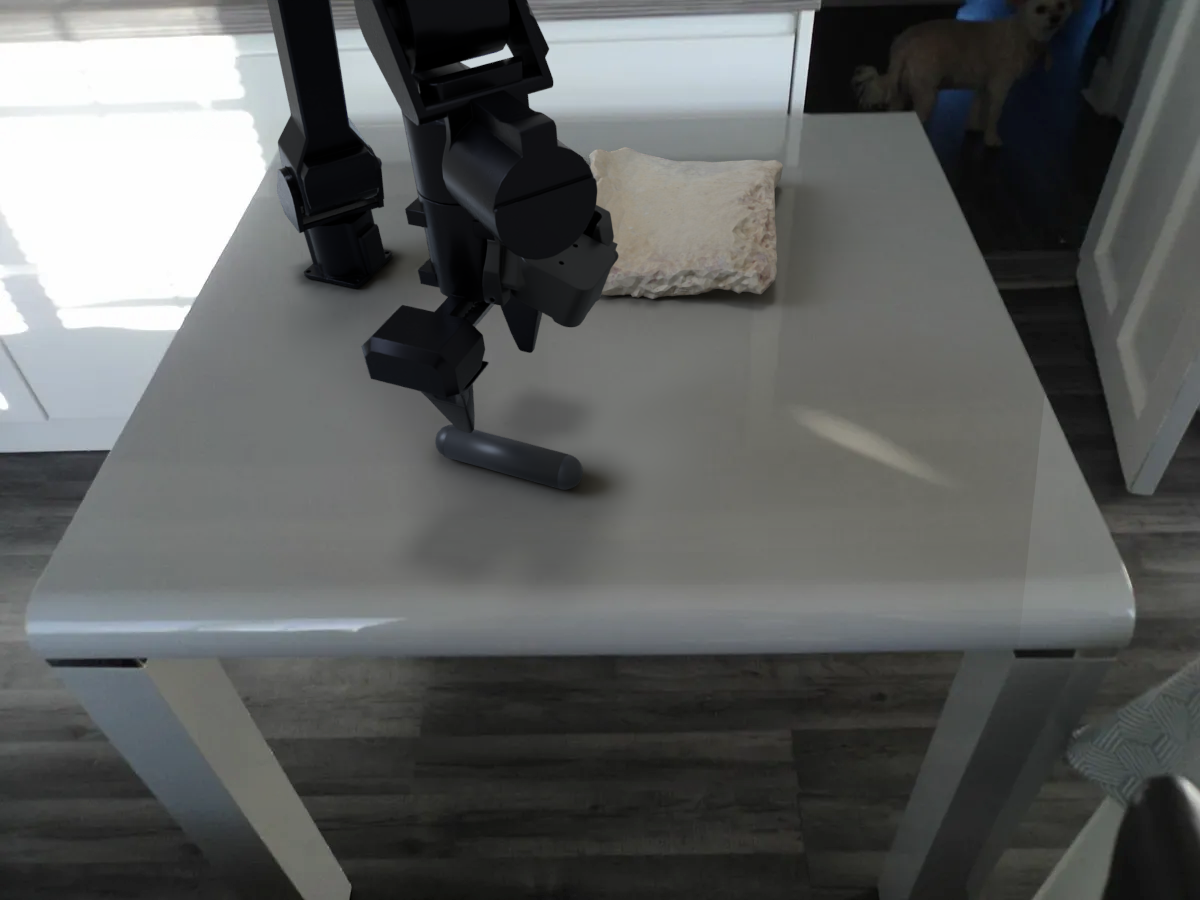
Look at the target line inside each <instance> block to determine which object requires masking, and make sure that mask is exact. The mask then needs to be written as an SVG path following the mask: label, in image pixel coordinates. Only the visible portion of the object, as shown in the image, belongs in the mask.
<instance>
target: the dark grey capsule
mask: <svg viewBox="0 0 1200 900" xmlns="http://www.w3.org/2000/svg"><path fill="white" fill-rule="evenodd" d="M434 441H435V443H434V444H435V447H436V449H437V452H438V453H439V454H440V455H441V456H443V457H444V458H447V459H451V460H454V461H458V462H462V463H465V464H468V465H472V466H476V467H480V468H484V469H487V470H490V471H494V472H498V473H502V474H504V475H507V476H513V477H516V478H520V479H523V480H526V481H531V482H533V483H537V484H540V485H544V486H549V487H552V488H556V489H558V490H571V489H573V488H575V487H577V486H578V485H579V483H580V482H581V480H582V478H583V473H584V469H583V465H582V463H581V461H580V460H579V459H578V458H577V457H576V456H574V455H572V454H569V453H565V452H561V451H558V450H555V449H550V448H546V447H542V446H539V445H535V444H531V443H528V442H523V441H520V440H516V439H512V438H508V437H505V436H500V435H497V434H493V433H490V432H486V431H482V430H478V429H474V430H473V431H472V433H467V432H463V431H460V430H458V429H457V428H456V427H455V426H454V425H453V424H446V425H445V426H443V427H441V428H440V429H439V430H438V432H437V433H436V436H435V440H434Z"/></svg>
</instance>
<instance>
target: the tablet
mask: <svg viewBox="0 0 1200 900" xmlns="http://www.w3.org/2000/svg"><path fill="white" fill-rule="evenodd" d="M588 157H589V160H590V165H589V166H590V169H591V171H592V174H593V176H594V178H595V179H596V182H597V202H596V205H598V206H600V207H601V208H603V209H605V210H607V211H609V212H610V214H611V221H612V227H613V233H614V239H613V242H615V243H617V244H618V245H617V248H616V251H617V252H618V255H619V256H618V259H617V261H616V262H615V263H614V265H613V266H612V268H611V269H610V272H609V275H608V277H607V280H606V283H605V285H604V288H603V290H602V293H601V296H625V295H631V298H640V297H645V298H648V299H651V300H655V299H657V298H661V297H662V298H663V297H667V296H669V297H674V296H675V297H676V296H690V295H691V296H693V295H695V296H696V295H697V296H698V295H699V294H703V293H704V294H705V293H709V292H711V291H713V290H723V291H733V292H734V293H737V294H741V293H742V292H745V293H747V292H748V293H753V294H756V295H762V294H763V293H765V291H766V290H767V289H768V288H769V287H770V286H771V285H772V284H773V283H774V282H775V281H776V277H777V275H778V274H777V273H778V270H777V264H778V255H777V254H778V251H777V243H778V242H777V228H776V199H775V198H776V197H775V196H776V195H775V194H776V193H775V189H776V188H777V186H778V184H779V183H780V181H781V180H782V173H783V170H784V169H783V168H784V166H783V164H782V163H781V162H780V161H779V160H777V159H772V160H770V159H769V160H760V159H745V160H729V161H725V160H724V161H723V160H722V161H703V160H685V161H684V160H683V161H679V160H672V159H667V158H663V157H659V156H654V155H650V154H646V153H642V152H639V151H637V150H635V149H633V148H630V147H621V148H619V149H616V150H610V151H607V150H604V149H601V148H598V149H594V150H593V151H592V152H591V153H590V154H588Z"/></svg>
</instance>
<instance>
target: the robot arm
mask: <svg viewBox="0 0 1200 900" xmlns="http://www.w3.org/2000/svg"><path fill="white" fill-rule="evenodd" d="M266 2H267V8H268V12H269V17H270V23H271V27H272V32H273V36H274V41H275V46H276V50H277V55H278V59H279V64H280V68H281V74H282V78H283V84H284V88H285V92H286V98H287V102H288V107H289V112H290V116H289V118H288V119H287V122H286V124H285V125H284V128H283V130H282V132H281V133H280V136H279V138H278V141H277V148H278V152H279V159H280V163H281V168H278V169H277V171H276V173H277V175H276V177H277V178H276V194H277V197H278V200H279V202H280V206H281V208H282V210H283V213H284V215H285V217H286V218H287V219H288V220H289V222H290V223H291V224H292V225H293V227H294V228H295V230H296V231H297V232H298V233H299V234H302V233H303V235H304V239H305V242H306V245H307V248H308V251H309V254H310V259H311V262H312V264H310V265H309V266H308V267H307V268H306V269H305V270H304V271H303V276H304V277H305V278H307V279H311V280H316V281H320V282H324V283H330V284H335V285H338V286H343V287H346V288H347V287H348V288H353V289H359V288H360V287H361V288H362V287H363V285H364V284H365V283H366V282H367V281H369V279H371V278H372V277H373V276H374V275H375V274H376V273H377V272H378V271H379V270H380V269H382V268H383V266H384V265H386V263H388V261H390V260H391V259H392V258H393V255H394V254H393V251H392V250H389V249H385V248H384V245H383V244H384V243H383V241H382V236H381V233H380V232H381V231H380V228H379V225H378V224H377V223H375V218H374V215H373V210H375V209H381V208H384V207H385V190H384V181H383V179H384V178H383V170H382V167H383V162H382V159H381V157H379V156H377V155H376V153H375V151H374V150H373V147H371V145H370V144H369V143H367V141H366V140H365V138H364V136H363V135H362V133H361V132H360V131H359V129H358V128H357V127H356V125H355V124H354V122H353V121H352V119H351V118H350V117H349V114H348V113H349V112H348V108H347V101H346V93H345V89H344V81H343V74H342V68H341V61H340V54H339V46H338V42H337V41H338V40H337V34H336V27H335V22H334V13H333V7H332V0H266ZM353 4H354V10H355V15H356V18H357V23H358V26H359V28H360V31H361V34H362V37H363V38H364V41H365V43H366V46H367V47H368V50H369V51H370V53H371V55H372V57H373V60H374V61H375V62H376V64H377V66H378V68H379V71H380V72H381V75H382V76H383V78H384V80H385V82H386V84H387V85H388V86H387V87H389V89H390V92H391V93H392V95H393V97H394V99H395V101H396V103H397V105H398V107H399V108H400V111H401V116H402V121H403V126H404V132H405V137H406V141H407V146H408V151H409V156H410V160H411V167H412V172H413V177H414V182H415V187H416V194H417V197H416V198H415V199H414V200H413V201H412V202H411V203H410V204H409V205H407V206H406V207H405V209H404V212H405V215H406V220H407V225H410V226H415V227H421V228H423V229H424V234H425V239H426V244H427V250H428V254H429V258H428V259H427V260H426V261H425V262H424V263H422V265H421V266H420V267H419V268H418V269H417V272H418V277H419V278H418V279H419V282H420V283H419V284H421V285H424V286H429V287H434V288H439V292H440V294H442V295H443V296H445V297H447V298H445V300H444V301H442V303H441V304H440V305H439V307H437V309H436V310H434V311H432V310H428V309H423V308H418V307H415V306H410V305H405V304H402V305H400V306H399V307H398V308H397V309H396V310H395V311H394V312H393V313H392V314H391V315H390V316H389V317H388V318H387V319H386V320H385V322H383V323H382V324H381V326H379V328H377V329H376V330H375V332H374V333H372V335H371V336H369V337H368V338H367V340H366V341H365V342H364V343H363V344H361V346H360V347H361V350H362V354H363V357H364V361H365V365H366V369H367V372H368V374H369V377H370V380H374V381H379V382H382V383H386V384H389V385H394V386H397V387H401V388H405V389H409V390H410V389H411V390H413V391H417V392H421V393H422V394H423V396H424V397H425V398H426V399H427V400H428V401H429V402H430V403H431V404H432V405H433V406H434V407H435V408H436V409H437V410H438V411H439V412H440V413H441V414H442V415H443V416H444V417H445V418H446V419H447V420H448V421H449V422H450V424H451V425H454V426H455V427H456V428H457V429H458V430H460V431H463V432H467V433H472V431H473V430H475V419H476V418H475V417H476V416H475V415H476V413H475V399H474V383H475V382H476V381H477V379H478V378H479V377H480V376H481V374H482V373H483V372H484V371H485V369H486V368H487V367H488V366H489V364H490V363H489V361H486V360H484V357H485V352H486V345H485V340H484V334H483V333H482V332H481V331H480V330H479V329H477V328H476V327H477V326H478V324H480V323H481V321H482V320H483V319H484V317H486V315H487V314H488V313H489V312H490V310H491V309H492V308H493V307H494V306H500V309H501V312H502V314H503V317H504V319H505V323H506V324H507V327H508V329H509V333H510V335H511V336H512V339H513V340H514V343H515V344H516V346H517V349H518V350H519V351H520V352H524V353H527V354H531V353H533V352H534V351H535V349H536V344H537V339H538V335H539V330H540V326H541V322H542V316H543V314H544V315H546V316H548V317H550V318H551V319H552V321H553V322H554V323H556V324H557V325H559V326H561V327H565V328H577V327H579V326H580V325H581V324H582V323H583V322H584V320H585V319H586V317H587V315H588V314H589V312H590V311H591V309H593V307H594V305H595V304H596V303H597V302H598V301H599V299H600V298H601V296H602V294H601V293H602V290H603V288H604V285H605V283H606V280H607V277H608V275H609V272H610V269H611V268H612V266H613V265H614V263H615V262H616V261H617V259H618V256H619V255H618V252H617V251H616V248H617V245H618V244H617V243H615V242H613V239H614V233H613V227H612V221H611V214H610V212H609V211H607V210H605V209H603V208H601V207H600V206H598V205H596V202H597V182H596V179H595V178H594V176H593V174H592V171H591V169H590V166H591V165H589V164H588V162H587V161H586V159H584V157H583V156H582V155H580V154H579V153H578V152H576V151H575V150H574V149H572V148H571V147H569V146H568V145H566V144H565V143H564V142H562V141H561V140H560V139H558V130H557V129H558V128H557V124H556V122H555V120H554V119H552V118H551V117H550V116H548V115H546V114H545V113H544V112H541V111H536V110H534V109H532V108H531V107H530V101H529V95H531V94H535V93H538V92H541V91H542V92H543V91H545V90H548V89H552V88H553V87H554V77H553V75H552V72H551V69H550V67H549V63H548V61H547V58H546V57H547V56H548V53H549V51H550V46H549V45H548V42H547V40H546V38H545V36H544V34H543V32H542V29H541V27H540V26H539V23H538V21H537V19H536V17H535V14H534V12H533V10H532V8H531V6H530V4H529V2H528V0H353ZM506 46H507V47H508V49H509V51H510V53H511V54H512V56H510V57H506V58H503V59H500V60H496V61H492V62H488V63H485V64H481V65H476V66H473V67H470V66H468V65H467V64H464V63H462V62H465V61H469V60H473V59H477V58H481V57H484V56H485V57H486V56H489V55H492V54H496V53H498V52H501V51H503V50H504V49H505V47H506Z"/></svg>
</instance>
